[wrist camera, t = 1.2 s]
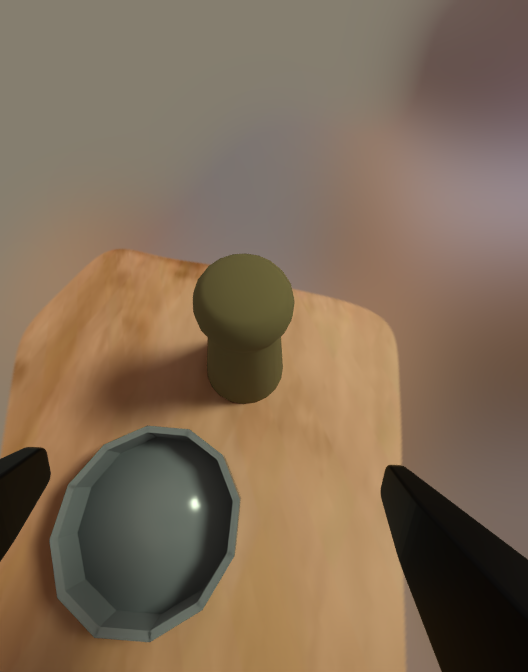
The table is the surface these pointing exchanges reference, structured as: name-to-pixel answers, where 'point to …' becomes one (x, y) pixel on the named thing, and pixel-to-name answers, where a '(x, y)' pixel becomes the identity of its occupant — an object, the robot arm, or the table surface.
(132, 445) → the gray bowl
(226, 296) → the cork
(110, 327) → the table surface
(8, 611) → the table surface
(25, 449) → the robot arm
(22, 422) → the table surface
